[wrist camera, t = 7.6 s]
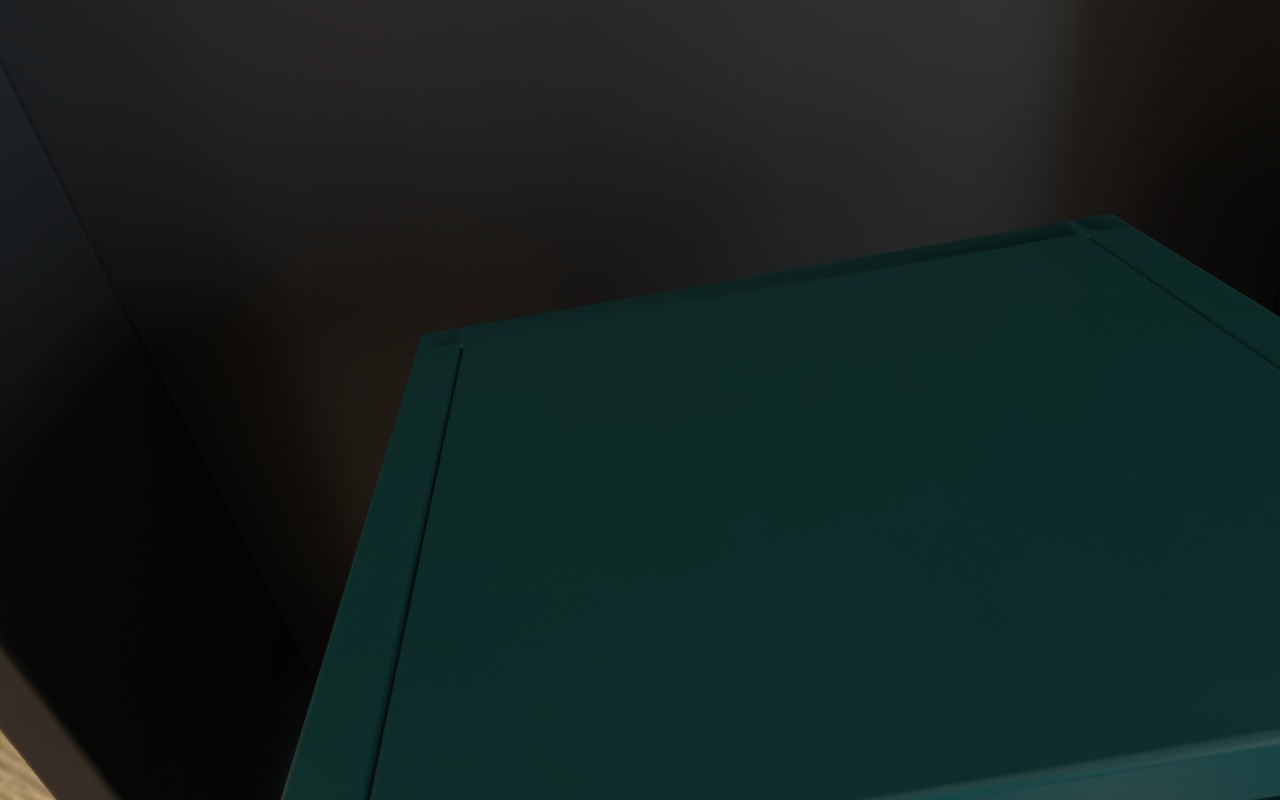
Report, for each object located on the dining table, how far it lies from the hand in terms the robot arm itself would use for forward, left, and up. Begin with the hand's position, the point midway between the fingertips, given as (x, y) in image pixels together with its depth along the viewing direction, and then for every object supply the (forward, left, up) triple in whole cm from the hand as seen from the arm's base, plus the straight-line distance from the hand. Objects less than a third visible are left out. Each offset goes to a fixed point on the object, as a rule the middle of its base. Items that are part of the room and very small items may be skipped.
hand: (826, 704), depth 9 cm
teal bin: (0, 0, -1) cm, 1 cm away
